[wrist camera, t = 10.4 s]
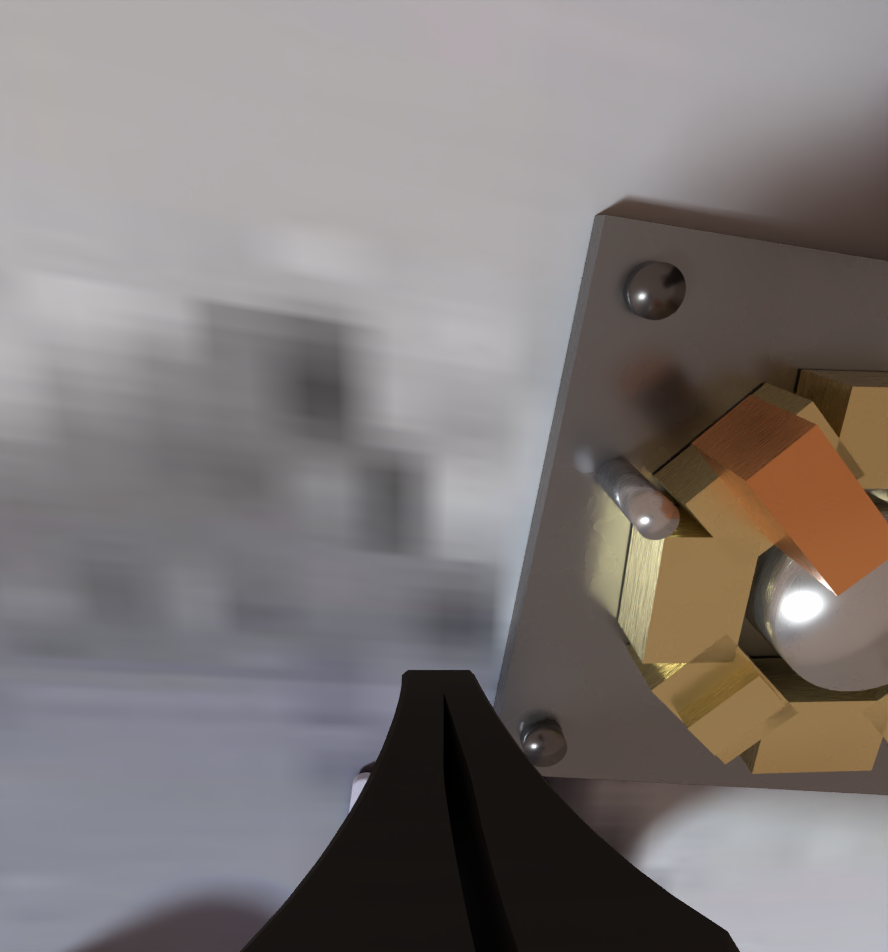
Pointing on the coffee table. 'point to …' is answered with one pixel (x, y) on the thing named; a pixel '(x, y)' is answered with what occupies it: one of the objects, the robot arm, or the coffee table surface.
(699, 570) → the gold blocky ring
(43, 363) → the coffee table surface
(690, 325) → the flange plate
